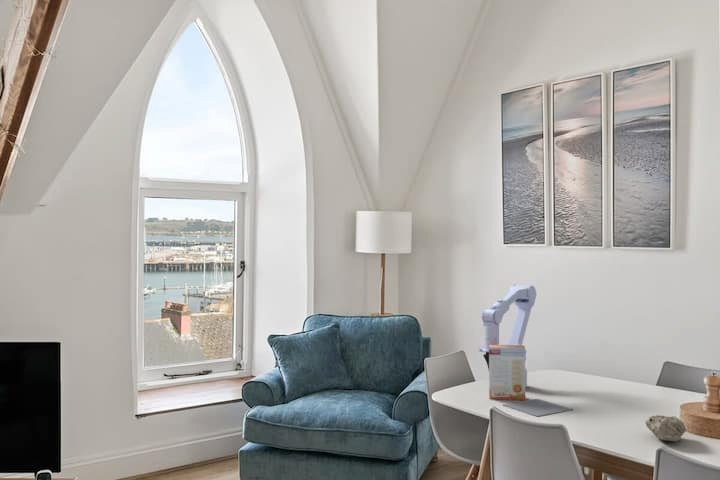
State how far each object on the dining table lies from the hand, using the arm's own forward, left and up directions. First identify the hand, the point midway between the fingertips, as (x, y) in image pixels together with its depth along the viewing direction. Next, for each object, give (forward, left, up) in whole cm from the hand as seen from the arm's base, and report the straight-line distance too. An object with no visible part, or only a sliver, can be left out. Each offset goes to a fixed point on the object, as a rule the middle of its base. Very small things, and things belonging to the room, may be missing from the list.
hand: (491, 371), depth 274 cm
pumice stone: (-6, +75, -9) cm, 76 cm away
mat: (0, +25, -9) cm, 27 cm away
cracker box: (0, +9, -9) cm, 13 cm away
